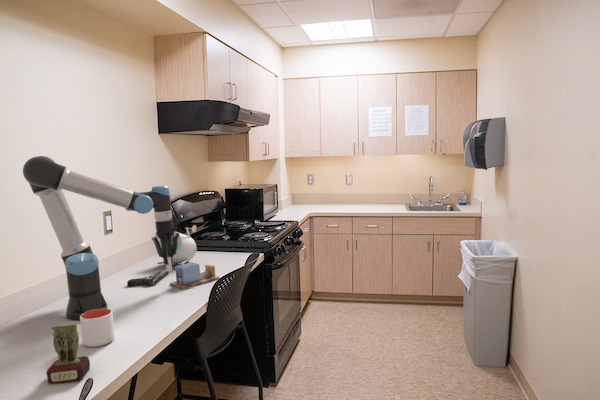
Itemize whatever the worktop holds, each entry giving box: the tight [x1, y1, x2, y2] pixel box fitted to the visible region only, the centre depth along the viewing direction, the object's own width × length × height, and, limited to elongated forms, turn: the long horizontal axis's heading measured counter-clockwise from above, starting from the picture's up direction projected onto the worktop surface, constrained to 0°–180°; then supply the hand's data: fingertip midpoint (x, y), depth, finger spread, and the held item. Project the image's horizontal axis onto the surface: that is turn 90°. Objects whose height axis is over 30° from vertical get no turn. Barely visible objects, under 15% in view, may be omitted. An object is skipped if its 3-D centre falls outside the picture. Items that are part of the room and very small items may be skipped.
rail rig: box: [169, 264, 221, 290], centre depth 224 cm, size 20×12×6 cm, turn 136°
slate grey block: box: [174, 262, 201, 285], centre depth 221 cm, size 9×6×8 cm
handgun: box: [127, 269, 170, 288], centre depth 232 cm, size 20×3×14 cm
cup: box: [79, 308, 116, 348], centre depth 158 cm, size 10×10×10 cm
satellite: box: [157, 224, 198, 266], centre depth 261 cm, size 23×20×25 cm
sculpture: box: [46, 324, 91, 384], centre depth 134 cm, size 10×8×15 cm
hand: (169, 270), depth 214 cm, fingers closed
